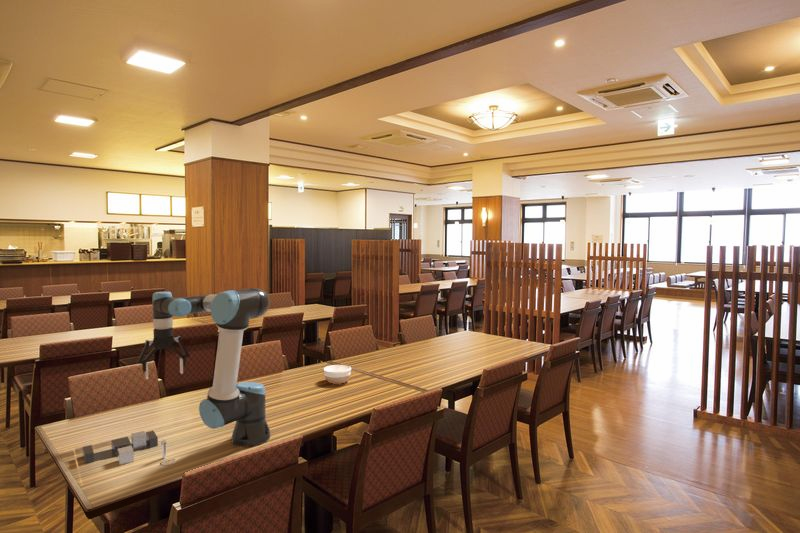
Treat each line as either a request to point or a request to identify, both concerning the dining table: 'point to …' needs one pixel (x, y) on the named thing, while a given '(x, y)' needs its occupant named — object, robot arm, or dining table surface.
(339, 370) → the bowl
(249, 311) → the robot arm
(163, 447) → the stand
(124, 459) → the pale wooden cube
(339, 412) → the dining table surface
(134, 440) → the light grey cube
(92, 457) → the rail
